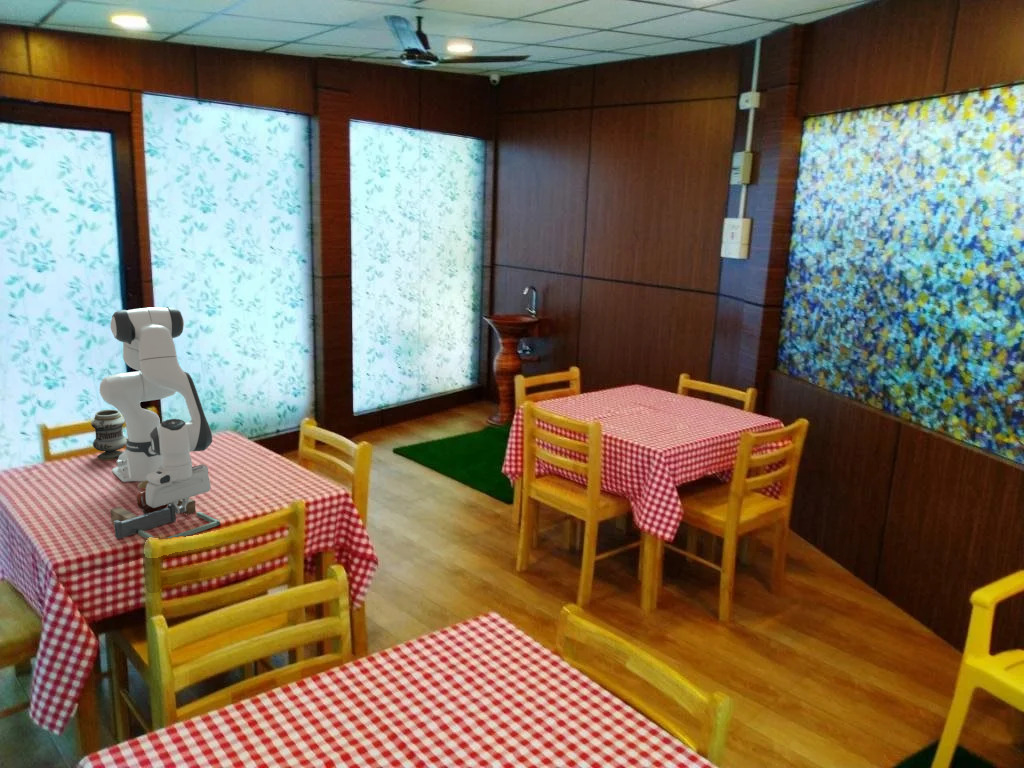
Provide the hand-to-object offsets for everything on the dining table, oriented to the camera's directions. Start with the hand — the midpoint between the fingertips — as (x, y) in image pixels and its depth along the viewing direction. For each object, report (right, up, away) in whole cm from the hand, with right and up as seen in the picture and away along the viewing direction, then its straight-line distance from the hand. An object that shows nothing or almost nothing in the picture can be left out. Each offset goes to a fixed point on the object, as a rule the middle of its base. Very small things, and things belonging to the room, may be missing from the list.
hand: (180, 512), depth 251 cm
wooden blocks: (-9, -2, +2) cm, 9 cm away
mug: (-10, -2, +2) cm, 11 cm away
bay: (+3, -4, -8) cm, 9 cm away
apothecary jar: (-52, +12, +58) cm, 79 cm away
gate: (-7, -4, -8) cm, 12 cm away
